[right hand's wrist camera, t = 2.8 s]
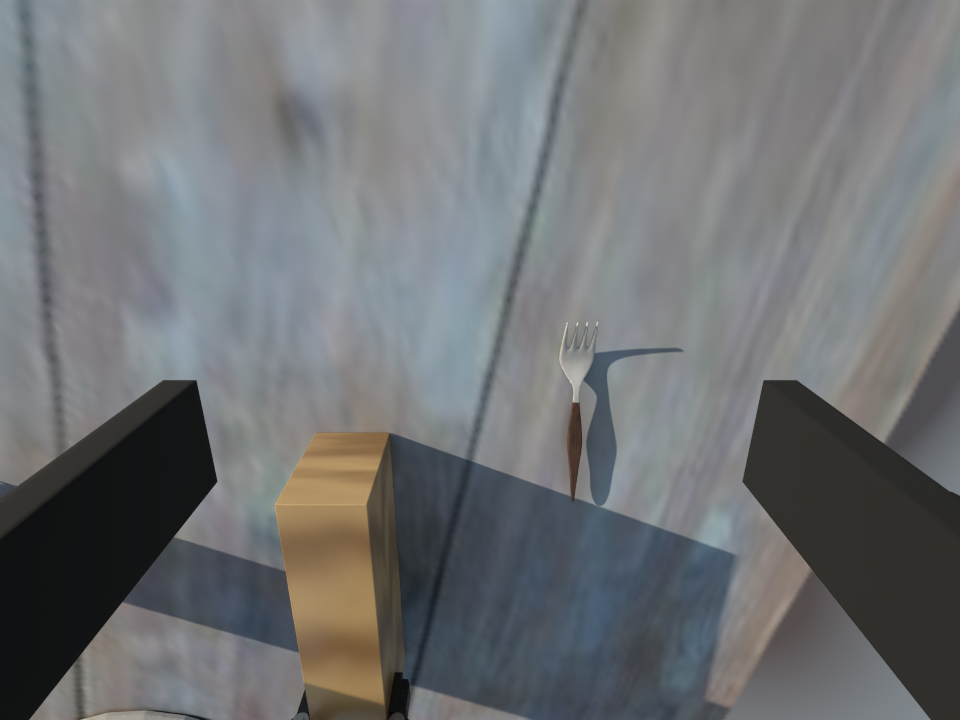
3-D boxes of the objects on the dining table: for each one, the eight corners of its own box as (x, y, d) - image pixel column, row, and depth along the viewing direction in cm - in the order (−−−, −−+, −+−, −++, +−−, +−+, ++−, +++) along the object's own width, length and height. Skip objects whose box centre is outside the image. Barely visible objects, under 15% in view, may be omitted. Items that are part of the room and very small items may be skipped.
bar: (316, 432, 43) (274, 504, 34) (389, 432, 43) (366, 504, 34) (343, 656, 52) (316, 758, 43) (405, 656, 52) (390, 759, 43)
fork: (555, 498, 45) (559, 512, 43) (560, 314, 39) (564, 323, 38) (586, 497, 45) (591, 512, 43) (596, 313, 39) (601, 321, 37)
